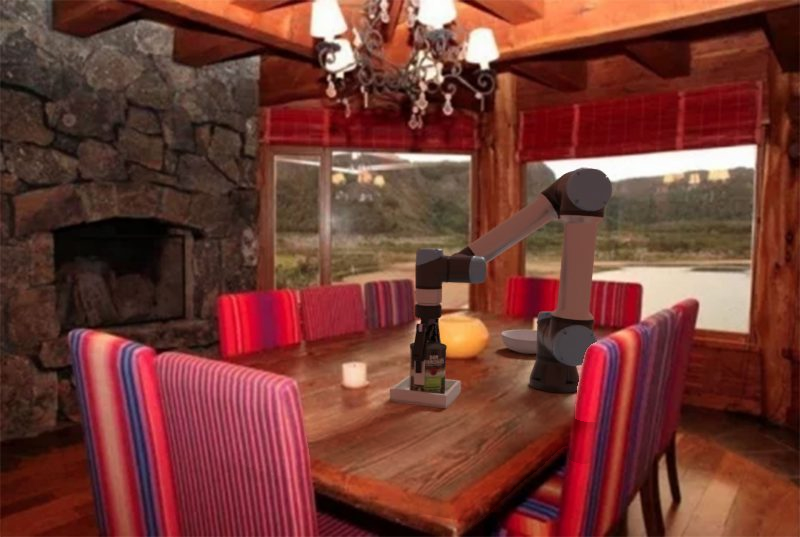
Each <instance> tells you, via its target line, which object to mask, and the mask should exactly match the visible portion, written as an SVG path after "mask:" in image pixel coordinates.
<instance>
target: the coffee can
mask: <svg viewBox="0 0 800 537" xmlns="http://www.w3.org/2000/svg"><path fill="white" fill-rule="evenodd" d="M413 347H414V342H411V343H410V344H409V348H410V349H409V350H410V351H409V357H410V358H409V375H410V380H409V390H412V391H421V392H429V393H438V394H445V379H446V369H447V368H446V365H447V363H446V362H447V347H448V346H447V345H446V344H445V343H442V342H441V343H438V342H428V343H427V348H426V352H425V356H424V361H425V381H424V385H417V384H414V364H415V361H412V360H411V357H412V353H413Z"/></svg>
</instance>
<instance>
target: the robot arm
mask: <svg viewBox="0 0 800 537" xmlns="http://www.w3.org/2000/svg"><path fill="white" fill-rule="evenodd" d="M612 193H613V185H612V181H611V179H610V178H609V176H608V175H607V174H606V173H605V172H604V171H603V170H601V169H599V168H596V167H589V166H587V167H579V168H577V169H574V170H572V171H568V172H566V173H564V174H563V175H561V176H560V177H559V178H557V179H556V180H555V181H554V182H553V183H551V184H550V185H549V186H548V187H546V188H545V189H544V190H541V191H540V192H539V193H538V194H537V198H536V199H535V200H534V201H532V202H531V203H529V204H528V205H526V206H525V207H523V208H522V209H520V210H519V211H517V212H516V213H514V214H513V215H511V216H510V217H508V218H507V219H505V220H503V222H501V223H499V224H498V225H496V226H495V227H493V228H492V229H491V230H489V231H488V232H486V233H485V234H483V235H481V237H479V238H477V239H476V240H474V241H473V242H471V243H470V244H469V245H467V246H466V247H464V248H462V249H461V250H460V251H458V252H455V253H453V254H451V255H444V250H443V249H442V248H436V247H435V248H433V247H420V248H418V249H417V251H416V255H415V268H414V270H415V272H414V273H415V274H414V276H415V277H414V278H415V280H414V282H415V283H414V284H415V285H414V288H415V289H414V290H413V294H414V301H415V305H414V317H415V318H417V319H420V322H419V323H416V326H415V334H414V335H415V336H414V342H413V343H414V347H413V353H412V357H411V360H412V361H415V364H414V384H417V385H424V381H425V361H424V356H425V352H426V348H427V343H428V342H438V343H442V340H441V334H440V333H441V332H440V326H439V324H440V323H439V322H440V321H439V319H440V318H441V317H442V314H443V313H442V309H443V308H442V307H443V306H442V304H441V303H443V284H444V283H448V284H449V283H453V284H454V283H456V284H473V285H474V284H482V283H484V282H485V281H486V277H487V264H488V263H489V262H491V261H492V260H494V259H495V258H497V257H498V256H500V255H501V254H502V253H504V252H506V251H507V250H509V249H511V247H513V246H514V245H516V244H518V243H520V242H522V240H524V239H525V238H527V237H528V236H530V235H531V234H533V233H534V232H536V231H537V230H539V229H541V228H542V227H543V226H545V225H546V224H548V223H549V222H551V221H555V222H556V221H558V220H560V219H561V220H562V221H563V222H564V227H563V228H564V229H563V236H562V238H563V240H562V250H561V259H560V260H561V262H560V271H559V272H560V273H559V283H558V284H559V285H558V295H557V307H556V308H555V309H554V310H553V311H540V312H539V313H538V314H537V320H536V331H537V345H536V354H535V362H534V364H533V367H532V370H531V371H530V375H529V383H528V384H529V386H530V387H532V388H533V389H536V390H540V391H542V392H549V393H557V394H559V393H561V394H564V393H565V394H569V393H570V394H571V393H575V392H578V391H577V386H578V382H579V377H580V374H579V370H578V367H579V366H582V363H583V359H584V355H585V352H586V350H587V348H588V347H589V346H590V345H591V344H593V343H595V342H597V343H598V341H597V340H598V339H597V337H596V334H595V333H594V323H595V317H594V316H593V315H592V313H591V312H590V303H591V296H592V295H591V292H592V286H593V284H592V283H593V272H594V261H595V252H596V242H597V233H598V225H599V223H602V221H603V220H604V217H605V208H606V205H607V204H608V203H609V201H610V200H611V197H612Z"/></svg>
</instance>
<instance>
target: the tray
mask: <svg viewBox="0 0 800 537" xmlns="http://www.w3.org/2000/svg"><path fill="white" fill-rule="evenodd" d="M409 380H410V374H408V375H406V377H404V378H403V379H402V380H400V381H399V382H397V383H396V384H395V385H393V386H392V387H390V389H389V402H391V403H399V404H407V405H416V406H421V407H422V406H424V407H430V408H440V409H447V408H448V407H449V406H450V405H451V404H452V403H453V402H454V401H455V400H456V399H457V397H458V396H459V395H460V394H461V393H462V391H461V390H462V389H461V388H462V380H459V379H458V380H457V379H448V378H445V394H438V393H429V392H421V391H412V390H409Z"/></svg>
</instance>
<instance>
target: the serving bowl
mask: <svg viewBox="0 0 800 537" xmlns="http://www.w3.org/2000/svg"><path fill="white" fill-rule="evenodd" d="M500 335H501V340H502V342H503V345H504V346H506V348H508V349H509V350H511V351H513V352H516V353H518V354H524V355H536V345H537V330H533V329H509V330H503V331H502V332H501V334H500Z"/></svg>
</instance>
